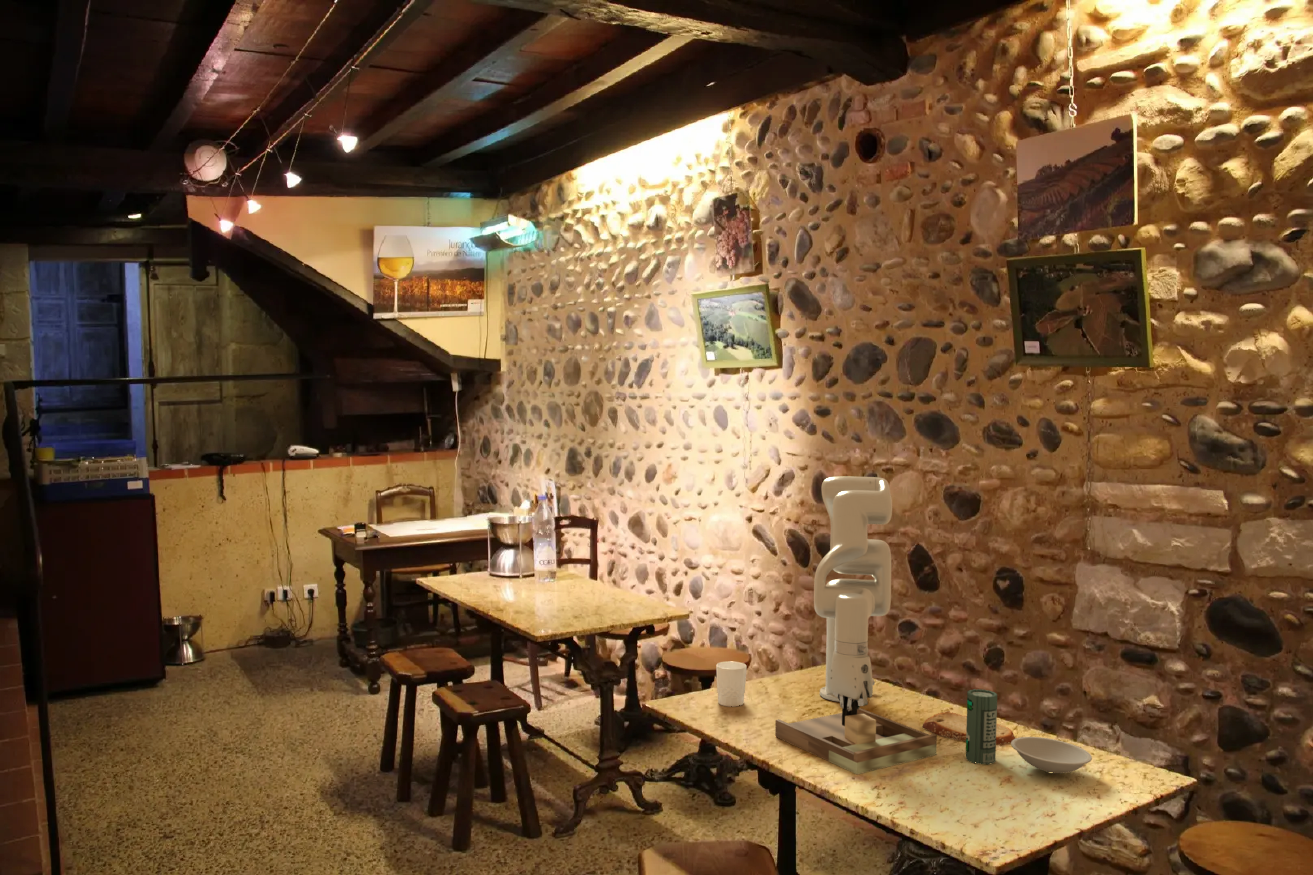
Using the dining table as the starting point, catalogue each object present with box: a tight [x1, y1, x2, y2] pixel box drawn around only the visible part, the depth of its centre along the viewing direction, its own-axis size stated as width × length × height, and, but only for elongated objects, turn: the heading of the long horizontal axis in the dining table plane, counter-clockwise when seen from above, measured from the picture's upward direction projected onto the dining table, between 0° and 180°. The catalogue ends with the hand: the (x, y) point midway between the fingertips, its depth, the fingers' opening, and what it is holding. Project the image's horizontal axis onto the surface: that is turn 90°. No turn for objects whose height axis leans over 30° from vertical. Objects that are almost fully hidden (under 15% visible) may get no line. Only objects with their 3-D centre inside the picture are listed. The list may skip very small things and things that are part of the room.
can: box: [965, 688, 998, 765], centre depth 234 cm, size 6×6×15 cm
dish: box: [1010, 736, 1093, 774], centre depth 227 cm, size 18×14×5 cm
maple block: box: [845, 714, 876, 744], centre depth 239 cm, size 5×5×5 cm
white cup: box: [715, 660, 747, 707], centre depth 274 cm, size 8×8×10 cm
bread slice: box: [922, 710, 1016, 745], centre depth 252 cm, size 18×18×4 cm
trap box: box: [774, 707, 938, 775], centre depth 242 cm, size 24×28×4 cm
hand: (849, 725), depth 243 cm, fingers closed
